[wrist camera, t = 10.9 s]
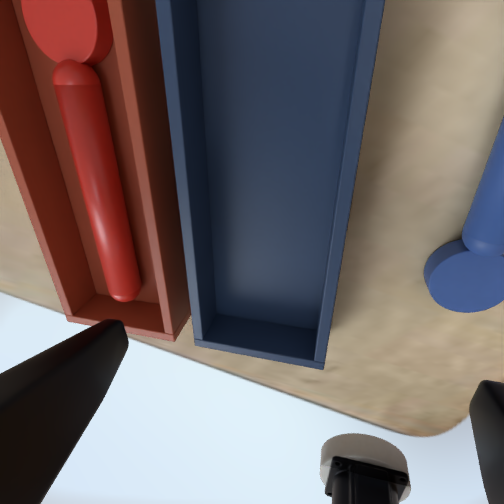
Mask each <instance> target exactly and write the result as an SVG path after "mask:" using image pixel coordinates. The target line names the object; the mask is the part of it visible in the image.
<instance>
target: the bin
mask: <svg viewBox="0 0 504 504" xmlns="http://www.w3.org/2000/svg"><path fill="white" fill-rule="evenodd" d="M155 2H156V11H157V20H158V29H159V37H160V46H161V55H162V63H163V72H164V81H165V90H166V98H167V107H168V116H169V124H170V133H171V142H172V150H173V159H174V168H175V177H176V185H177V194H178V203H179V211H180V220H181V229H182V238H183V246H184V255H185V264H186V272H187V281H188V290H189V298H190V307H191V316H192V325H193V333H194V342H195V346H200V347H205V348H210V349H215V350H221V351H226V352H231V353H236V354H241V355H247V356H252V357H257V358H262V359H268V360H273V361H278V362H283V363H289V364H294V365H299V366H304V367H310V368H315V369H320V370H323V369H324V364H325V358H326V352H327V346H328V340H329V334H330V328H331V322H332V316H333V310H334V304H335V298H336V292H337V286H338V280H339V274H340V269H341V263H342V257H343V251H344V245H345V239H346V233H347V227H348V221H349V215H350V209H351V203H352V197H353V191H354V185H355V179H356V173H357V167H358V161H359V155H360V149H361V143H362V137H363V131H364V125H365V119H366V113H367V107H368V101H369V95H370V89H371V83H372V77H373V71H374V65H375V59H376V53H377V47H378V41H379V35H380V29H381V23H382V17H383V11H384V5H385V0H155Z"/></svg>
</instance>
